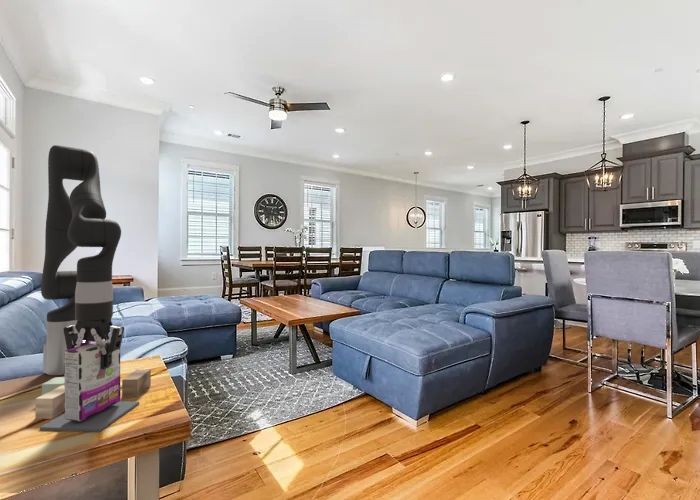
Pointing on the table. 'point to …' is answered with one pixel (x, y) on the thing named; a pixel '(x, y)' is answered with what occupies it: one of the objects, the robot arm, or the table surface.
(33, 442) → the table surface
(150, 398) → the table surface
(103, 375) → the candy bar box
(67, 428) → the mat
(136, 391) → the walnut block
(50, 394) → the beech block
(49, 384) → the sage cube
